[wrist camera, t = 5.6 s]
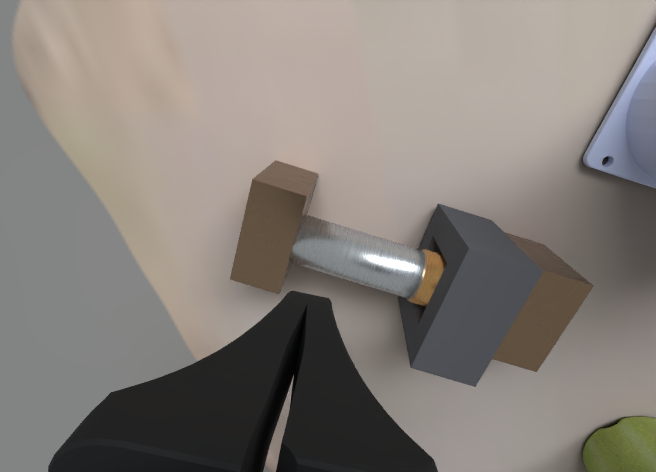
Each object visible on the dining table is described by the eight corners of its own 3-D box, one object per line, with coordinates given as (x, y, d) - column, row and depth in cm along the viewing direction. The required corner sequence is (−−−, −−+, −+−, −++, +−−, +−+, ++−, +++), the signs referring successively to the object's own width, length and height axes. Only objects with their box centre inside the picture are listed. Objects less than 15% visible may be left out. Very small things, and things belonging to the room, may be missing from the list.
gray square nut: (491, 220, 20) (543, 271, 14) (446, 311, 22) (475, 386, 16) (438, 203, 20) (469, 248, 14) (398, 297, 22) (410, 367, 16)
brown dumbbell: (544, 245, 20) (595, 287, 16) (502, 318, 22) (537, 373, 18) (275, 160, 20) (251, 180, 16) (255, 242, 22) (229, 280, 17)
